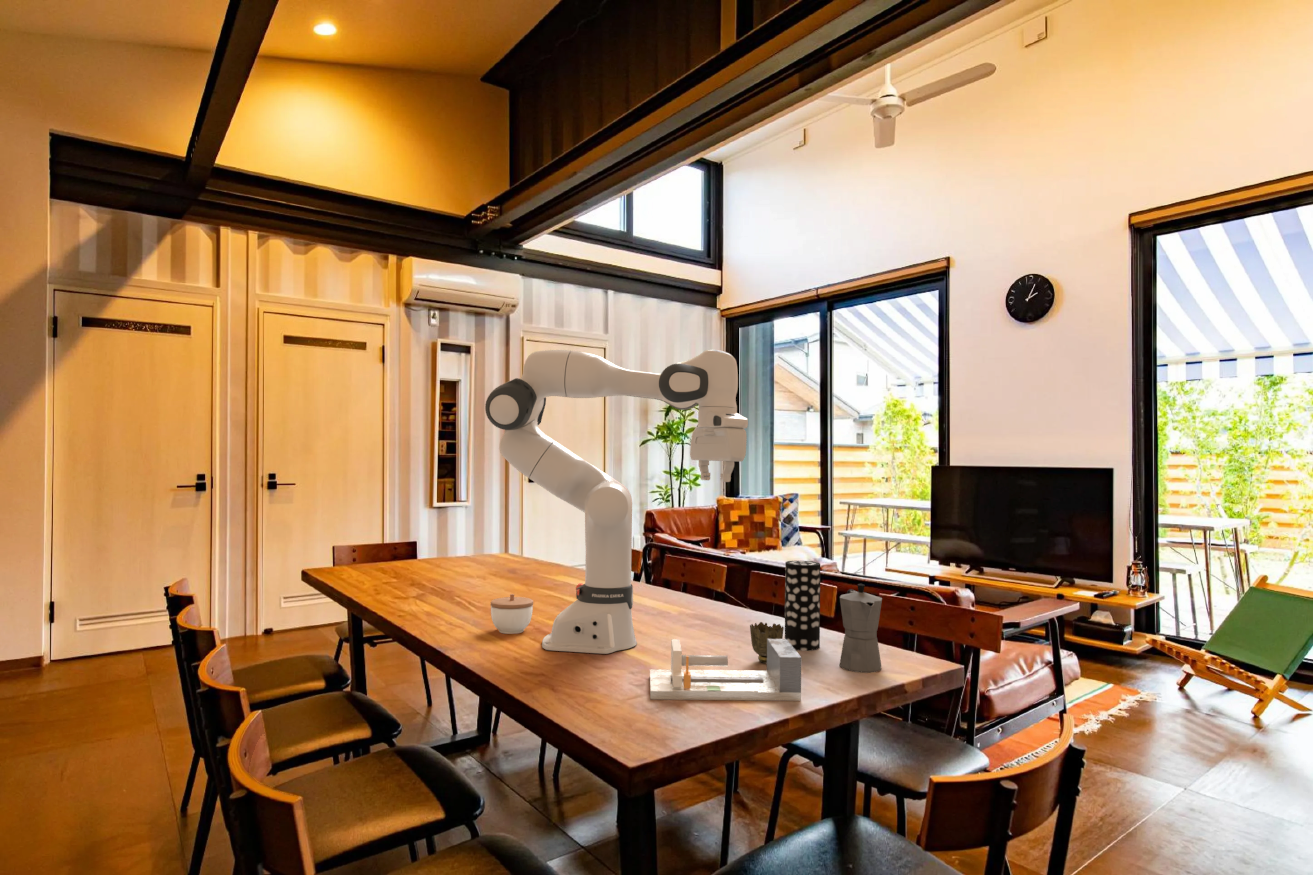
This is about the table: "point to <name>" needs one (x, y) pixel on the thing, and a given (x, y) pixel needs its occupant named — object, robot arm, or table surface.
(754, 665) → the table surface
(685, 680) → the orange t-shaped block
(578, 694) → the table surface
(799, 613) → the spotted tube
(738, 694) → the gauge base
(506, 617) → the lidded jar
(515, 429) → the robot arm
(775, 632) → the cup
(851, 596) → the coffeepot
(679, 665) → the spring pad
